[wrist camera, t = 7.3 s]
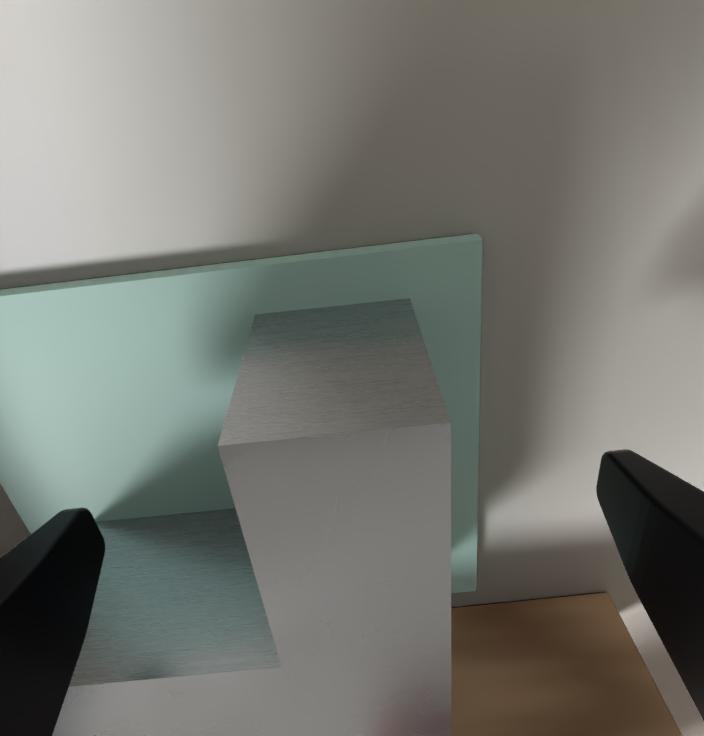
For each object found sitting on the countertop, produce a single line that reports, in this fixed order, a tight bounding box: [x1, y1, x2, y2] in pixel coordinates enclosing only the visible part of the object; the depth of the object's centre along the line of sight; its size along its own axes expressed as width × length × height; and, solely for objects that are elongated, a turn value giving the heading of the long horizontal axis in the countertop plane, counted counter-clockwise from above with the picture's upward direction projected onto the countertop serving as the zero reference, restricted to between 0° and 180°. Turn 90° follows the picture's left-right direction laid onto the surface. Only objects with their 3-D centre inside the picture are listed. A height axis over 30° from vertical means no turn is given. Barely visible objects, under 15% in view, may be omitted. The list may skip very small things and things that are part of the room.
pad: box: [0, 234, 483, 593], centre depth 12 cm, size 11×10×1 cm
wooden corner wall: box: [451, 593, 682, 736], centre depth 11 cm, size 19×16×4 cm
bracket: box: [52, 298, 452, 736], centre depth 11 cm, size 8×8×4 cm
